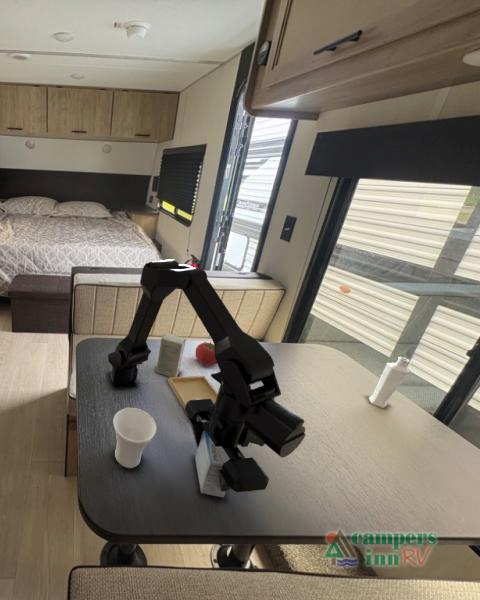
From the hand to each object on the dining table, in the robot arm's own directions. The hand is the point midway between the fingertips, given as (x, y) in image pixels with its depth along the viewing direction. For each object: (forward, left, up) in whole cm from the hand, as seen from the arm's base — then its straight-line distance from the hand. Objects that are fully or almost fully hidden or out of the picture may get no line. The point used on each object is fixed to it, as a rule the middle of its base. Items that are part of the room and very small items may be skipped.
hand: (211, 468), depth 61 cm
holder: (+9, +22, -3) cm, 24 cm away
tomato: (+20, +38, -3) cm, 43 cm away
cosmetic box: (+5, +34, -3) cm, 34 cm away
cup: (-15, +6, -3) cm, 16 cm away
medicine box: (0, 0, -3) cm, 3 cm away
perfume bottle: (+61, +17, -3) cm, 63 cm away
